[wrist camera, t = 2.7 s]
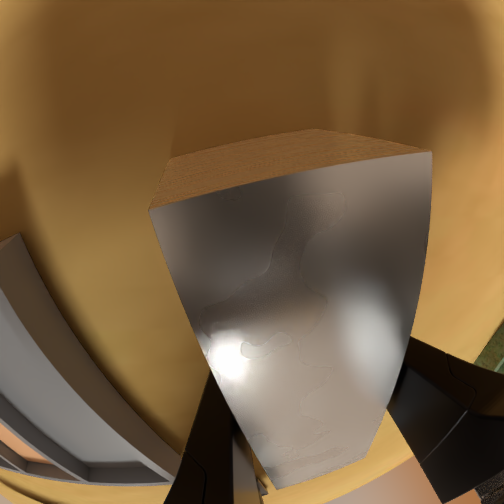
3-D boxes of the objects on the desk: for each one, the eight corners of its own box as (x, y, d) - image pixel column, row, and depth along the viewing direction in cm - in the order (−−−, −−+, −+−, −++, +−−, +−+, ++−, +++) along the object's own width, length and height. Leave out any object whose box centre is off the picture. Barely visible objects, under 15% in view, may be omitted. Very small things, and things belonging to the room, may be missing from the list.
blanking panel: (328, 387, 13) (364, 457, 9) (252, 412, 13) (276, 489, 9) (313, 128, 7) (432, 150, 3) (169, 158, 7) (148, 210, 3)
